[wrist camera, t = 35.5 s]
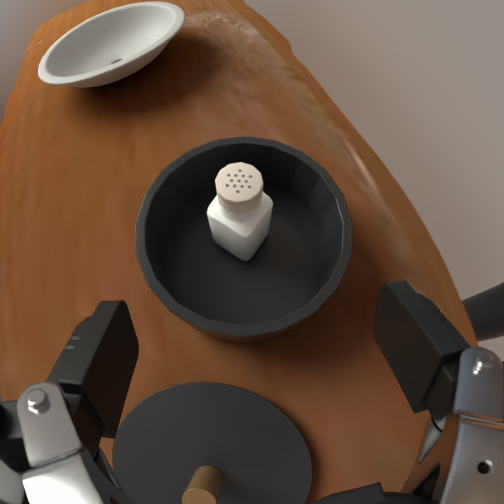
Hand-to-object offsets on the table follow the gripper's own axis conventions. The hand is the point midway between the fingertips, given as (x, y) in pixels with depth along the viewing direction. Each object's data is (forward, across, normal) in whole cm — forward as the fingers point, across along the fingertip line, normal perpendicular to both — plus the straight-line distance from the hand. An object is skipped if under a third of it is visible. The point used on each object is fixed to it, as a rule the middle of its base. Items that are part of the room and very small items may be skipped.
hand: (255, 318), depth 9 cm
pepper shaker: (+20, 0, +5) cm, 20 cm away
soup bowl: (+43, +18, -17) cm, 50 cm away
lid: (+4, +4, +20) cm, 21 cm away
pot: (+19, 0, +6) cm, 20 cm away
